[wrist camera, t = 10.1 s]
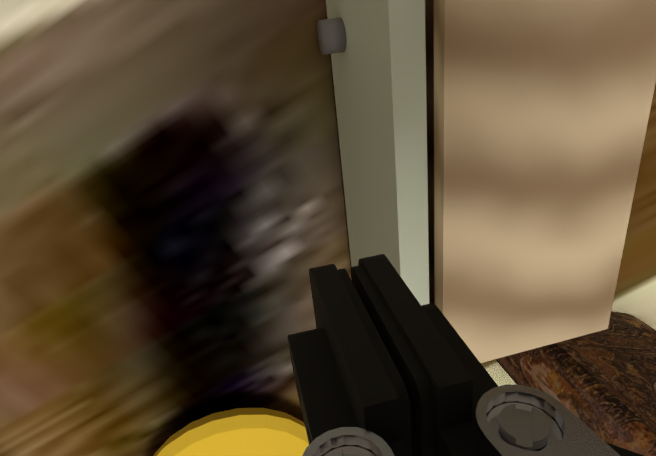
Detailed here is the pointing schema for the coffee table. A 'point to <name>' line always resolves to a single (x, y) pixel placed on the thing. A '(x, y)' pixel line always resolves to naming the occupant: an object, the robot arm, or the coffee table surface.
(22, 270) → the coffee table surface
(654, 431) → the book
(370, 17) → the sage door
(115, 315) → the coffee table surface
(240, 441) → the yellow round disc
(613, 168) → the oak cabinet
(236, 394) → the coffee table surface
